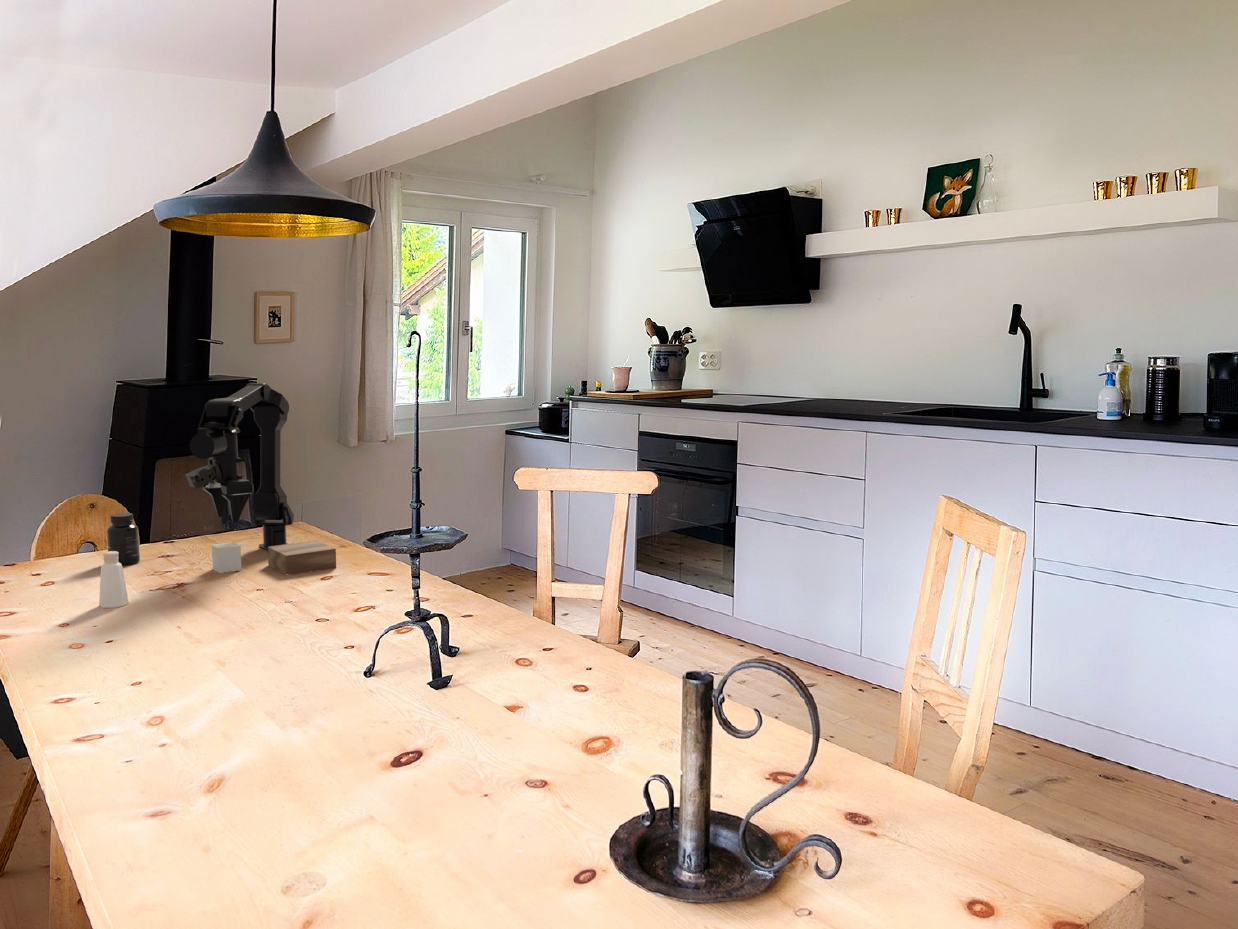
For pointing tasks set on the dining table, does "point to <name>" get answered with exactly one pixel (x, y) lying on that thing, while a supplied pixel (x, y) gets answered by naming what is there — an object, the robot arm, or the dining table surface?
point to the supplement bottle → (124, 538)
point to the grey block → (226, 557)
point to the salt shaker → (112, 582)
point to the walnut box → (301, 557)
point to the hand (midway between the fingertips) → (227, 519)
